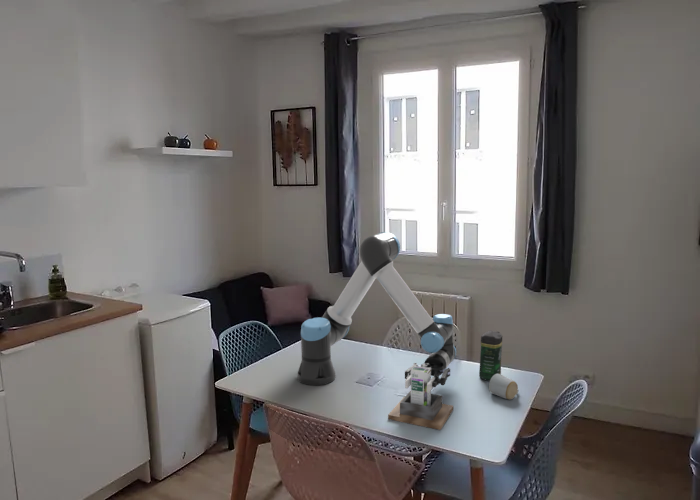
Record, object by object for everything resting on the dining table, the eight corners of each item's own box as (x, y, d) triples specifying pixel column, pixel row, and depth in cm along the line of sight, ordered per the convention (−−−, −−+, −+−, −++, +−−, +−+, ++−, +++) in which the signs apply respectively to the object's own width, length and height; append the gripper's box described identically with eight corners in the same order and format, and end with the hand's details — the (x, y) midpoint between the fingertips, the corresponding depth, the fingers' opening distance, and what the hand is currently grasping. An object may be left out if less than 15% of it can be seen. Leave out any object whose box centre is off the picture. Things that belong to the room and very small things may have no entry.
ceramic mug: (506, 403, 190) (507, 382, 189) (487, 395, 196) (488, 375, 195) (523, 395, 196) (525, 375, 195) (505, 388, 203) (506, 369, 202)
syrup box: (410, 411, 180) (410, 370, 178) (415, 405, 185) (415, 364, 183) (426, 414, 177) (426, 372, 176) (431, 407, 183) (431, 366, 181)
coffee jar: (497, 383, 207) (498, 337, 205) (477, 379, 211) (478, 334, 208) (503, 374, 216) (504, 330, 213) (483, 371, 219) (485, 327, 217)
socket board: (388, 419, 178) (388, 403, 177) (404, 400, 192) (404, 385, 192) (440, 429, 170) (440, 413, 170) (453, 409, 185) (453, 394, 184)
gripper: (463, 377, 192) (446, 402, 171) (411, 368, 200) (389, 391, 180) (463, 357, 191) (446, 380, 170) (411, 349, 199) (389, 370, 179)
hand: (417, 386), depth 175 cm, fingers open, 7 cm apart
